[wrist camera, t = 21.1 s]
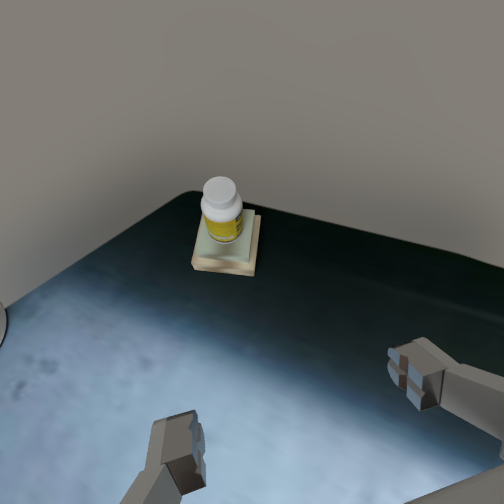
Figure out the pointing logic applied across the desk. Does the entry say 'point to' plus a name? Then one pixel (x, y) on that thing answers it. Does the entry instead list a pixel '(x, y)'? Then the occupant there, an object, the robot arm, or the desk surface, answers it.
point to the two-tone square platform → (228, 249)
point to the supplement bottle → (222, 210)
